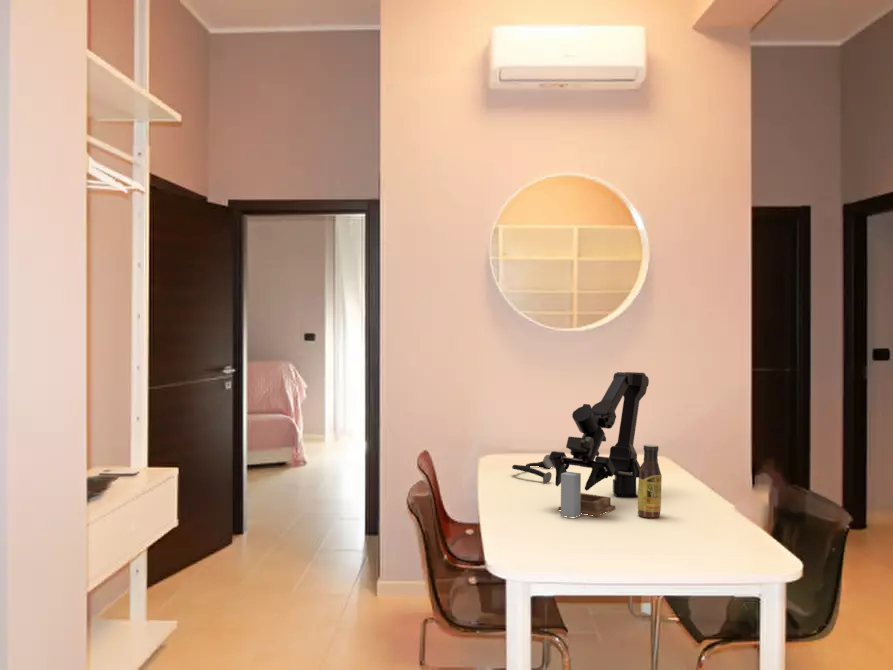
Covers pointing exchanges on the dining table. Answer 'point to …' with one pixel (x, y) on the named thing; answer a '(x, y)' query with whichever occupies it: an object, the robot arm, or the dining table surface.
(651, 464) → the sauce bottle
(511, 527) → the dining table surface
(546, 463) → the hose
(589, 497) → the post socket
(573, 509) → the grey square post
